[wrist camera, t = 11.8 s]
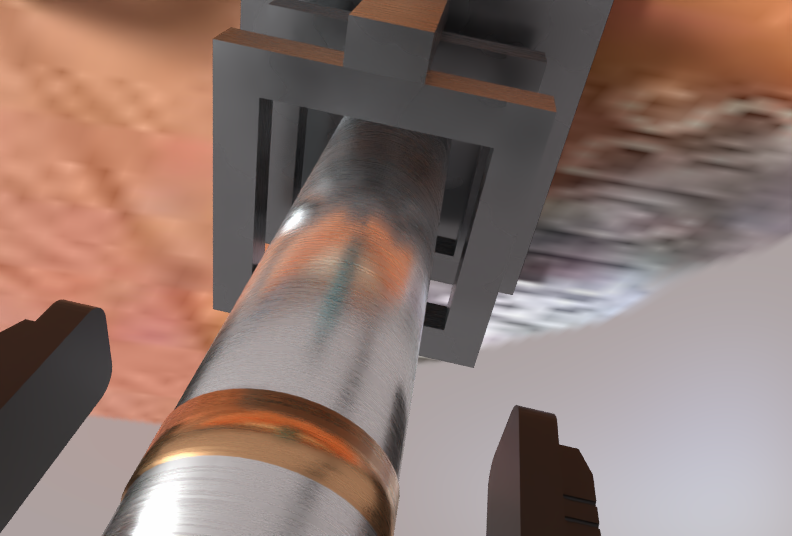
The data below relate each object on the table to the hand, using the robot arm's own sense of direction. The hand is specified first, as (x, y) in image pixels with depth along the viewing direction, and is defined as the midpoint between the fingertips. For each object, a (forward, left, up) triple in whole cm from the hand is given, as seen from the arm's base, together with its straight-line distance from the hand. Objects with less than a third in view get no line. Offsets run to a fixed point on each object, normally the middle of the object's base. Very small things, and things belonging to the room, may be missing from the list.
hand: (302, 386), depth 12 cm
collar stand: (0, 0, -15) cm, 15 cm away
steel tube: (0, 0, -13) cm, 13 cm away
